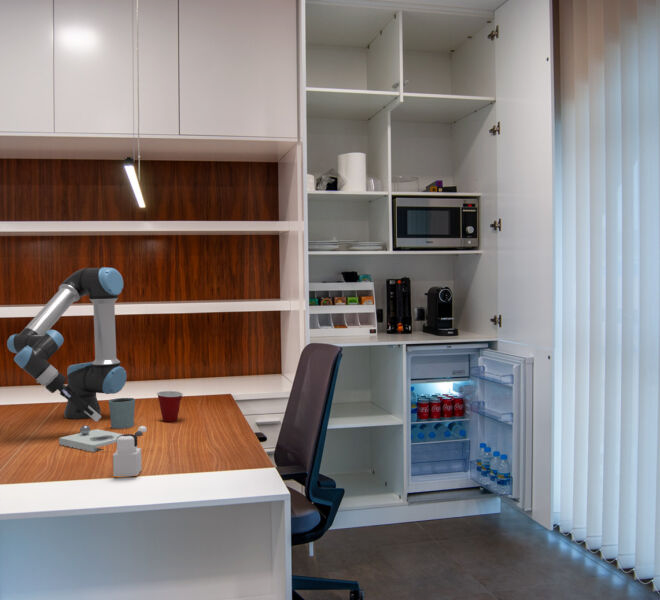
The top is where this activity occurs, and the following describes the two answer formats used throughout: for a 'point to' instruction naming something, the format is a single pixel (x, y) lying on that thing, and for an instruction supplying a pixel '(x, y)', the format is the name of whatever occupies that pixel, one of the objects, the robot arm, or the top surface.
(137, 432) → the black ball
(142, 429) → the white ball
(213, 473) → the top surface
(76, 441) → the board
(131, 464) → the medicine bottle
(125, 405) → the grey cup
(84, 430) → the steel ball
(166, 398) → the plastic cup
